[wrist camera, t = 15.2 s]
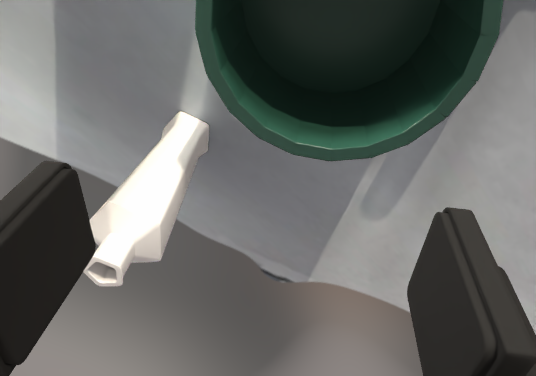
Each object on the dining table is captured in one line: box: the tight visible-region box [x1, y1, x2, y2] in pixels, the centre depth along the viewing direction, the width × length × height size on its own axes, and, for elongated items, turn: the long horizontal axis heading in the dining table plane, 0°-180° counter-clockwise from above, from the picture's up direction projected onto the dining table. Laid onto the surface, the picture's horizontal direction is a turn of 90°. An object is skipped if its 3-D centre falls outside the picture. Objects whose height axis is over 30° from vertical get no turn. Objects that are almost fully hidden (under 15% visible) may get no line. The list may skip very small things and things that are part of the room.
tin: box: [195, 0, 503, 161], centre depth 22 cm, size 14×14×8 cm
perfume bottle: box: [83, 111, 209, 287], centre depth 26 cm, size 5×4×15 cm
